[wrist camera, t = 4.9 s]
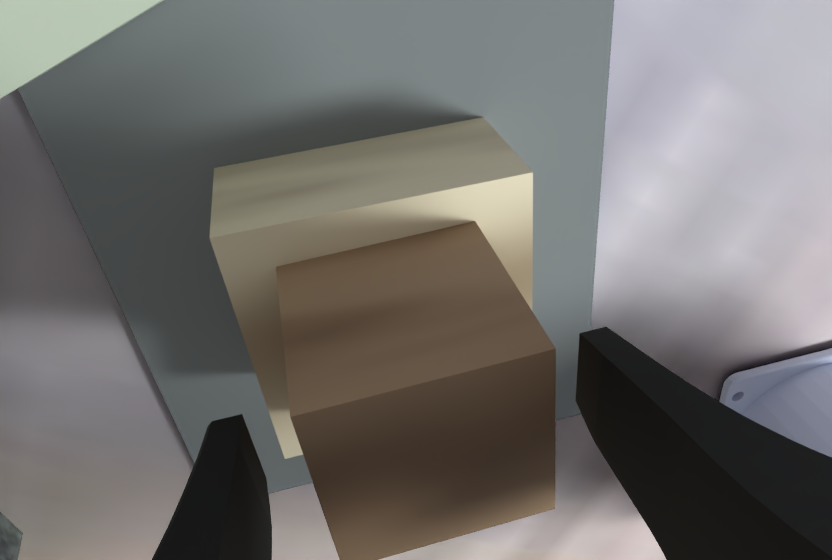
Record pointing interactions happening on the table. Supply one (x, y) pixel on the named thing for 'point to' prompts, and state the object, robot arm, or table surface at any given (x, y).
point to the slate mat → (305, 130)
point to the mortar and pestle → (9, 539)
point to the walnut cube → (418, 391)
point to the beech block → (359, 220)
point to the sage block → (54, 33)
